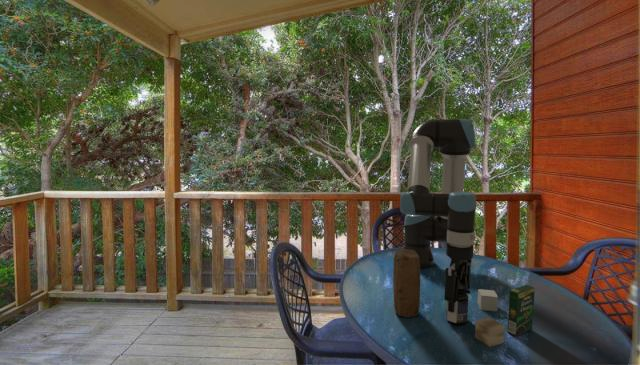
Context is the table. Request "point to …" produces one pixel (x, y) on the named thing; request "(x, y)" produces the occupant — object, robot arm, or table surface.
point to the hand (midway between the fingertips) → (456, 316)
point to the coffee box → (521, 310)
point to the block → (406, 282)
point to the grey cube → (487, 300)
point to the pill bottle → (461, 305)
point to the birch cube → (489, 331)
